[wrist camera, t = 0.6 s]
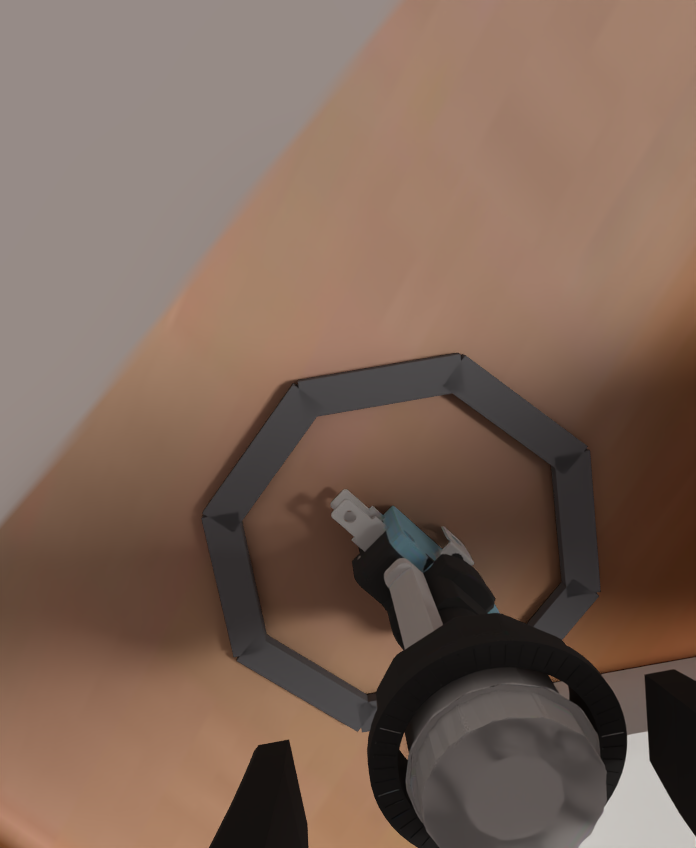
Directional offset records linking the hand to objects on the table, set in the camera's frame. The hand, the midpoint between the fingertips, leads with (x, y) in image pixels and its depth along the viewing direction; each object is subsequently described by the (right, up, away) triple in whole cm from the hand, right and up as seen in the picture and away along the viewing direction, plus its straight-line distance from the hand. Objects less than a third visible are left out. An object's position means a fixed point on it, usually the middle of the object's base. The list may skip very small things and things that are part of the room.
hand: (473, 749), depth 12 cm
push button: (0, +2, +9) cm, 9 cm away
